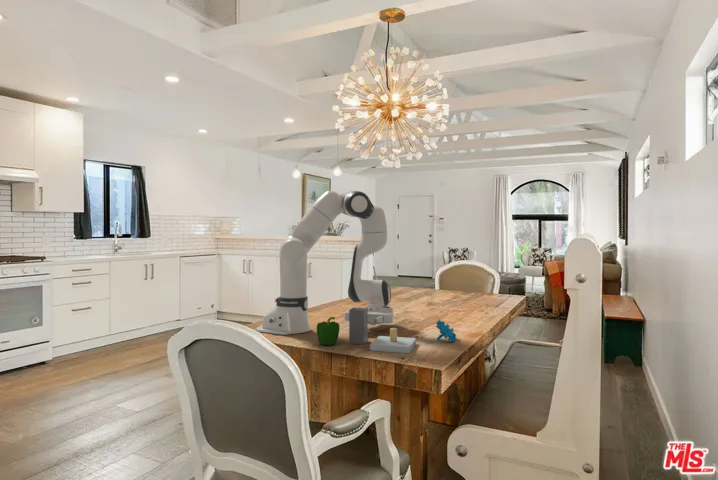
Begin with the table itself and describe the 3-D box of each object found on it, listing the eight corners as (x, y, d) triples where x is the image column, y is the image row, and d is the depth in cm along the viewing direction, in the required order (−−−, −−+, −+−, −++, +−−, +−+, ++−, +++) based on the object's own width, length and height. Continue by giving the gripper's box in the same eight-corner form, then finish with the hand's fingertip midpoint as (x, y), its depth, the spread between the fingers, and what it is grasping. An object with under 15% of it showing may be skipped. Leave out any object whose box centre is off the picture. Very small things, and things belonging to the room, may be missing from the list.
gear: (450, 340, 165) (434, 319, 170) (439, 350, 167) (423, 328, 172) (463, 339, 174) (447, 318, 179) (452, 348, 176) (437, 328, 181)
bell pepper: (315, 347, 162) (315, 319, 162) (317, 341, 170) (317, 315, 170) (339, 347, 162) (339, 319, 162) (339, 341, 170) (339, 315, 170)
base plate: (369, 350, 158) (369, 331, 158) (379, 341, 171) (379, 323, 171) (409, 353, 154) (409, 334, 154) (415, 343, 167) (415, 326, 167)
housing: (349, 343, 167) (349, 309, 167) (353, 340, 173) (353, 307, 173) (363, 344, 166) (363, 310, 166) (367, 341, 171) (367, 308, 171)
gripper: (349, 305, 193) (339, 310, 180) (396, 307, 188) (389, 313, 174) (349, 319, 193) (339, 326, 180) (396, 322, 188) (389, 329, 174)
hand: (364, 319), depth 177 cm, fingers open, 8 cm apart
